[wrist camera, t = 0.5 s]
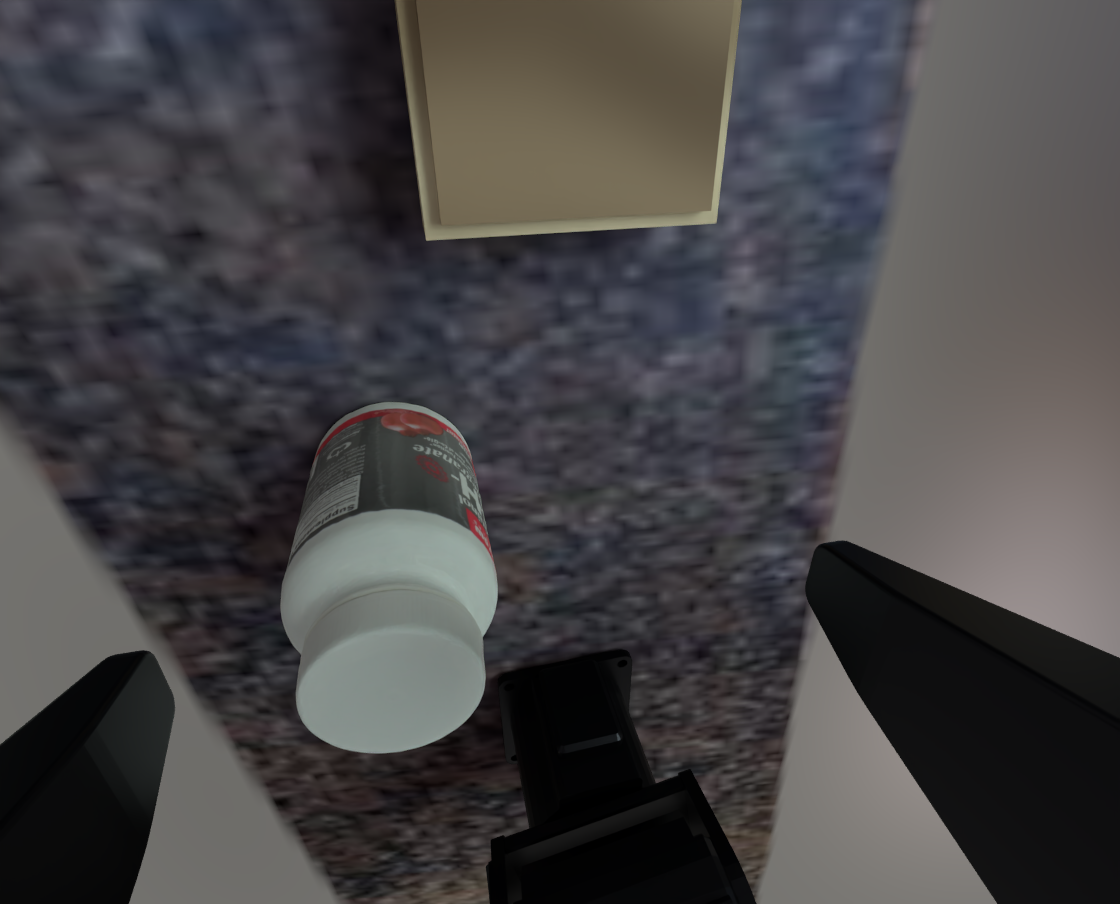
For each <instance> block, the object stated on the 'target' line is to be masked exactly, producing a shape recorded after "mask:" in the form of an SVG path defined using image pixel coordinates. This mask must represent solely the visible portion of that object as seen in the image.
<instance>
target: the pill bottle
mask: <svg viewBox="0 0 1120 904" xmlns="http://www.w3.org/2000/svg"><path fill="white" fill-rule="evenodd" d="M497 594H498V586H497V575H496V569H495V565H494V560H493V556H492V552H491V546H490V542H489V538H488V533H487V528H486V523H485V519H484V514H483V509H482V504H481V497H480V494H479V489H478V485H477V479H476V474H475V471H474V466H473V462H472V458H471V454H470V451H469V448H468V446H467V443H466V441H465V440H464V438H463V436H462V435H461V433H460V432H459V431H458V430H457V428H456V427H455V426H454V425H453V424H452V423H450V422H449V421H448V420H447V419H445V418H444V417H443V416H441V415H439V414H437V413H435V412H433V411H431V410H429V409H427V408H425V407H422V406H418V405H413V404H408V403H399V402H382V403H377V404H371V405H368V406H365V407H363V408H361V409H358V410H356V411H354V412H352V413H349V414H347V415H345V416H344V417H343V418H341V419H340V420H339V421H337V422H336V423H335V424H334V425H333V426H332V427H331V429H330V430H329V431H328V432H327V433H326V435H325V436H324V438H323V439H322V441H321V443H320V445H319V447H318V450H317V452H316V455H315V459H314V462H313V465H312V469H311V471H310V477H309V481H308V484H307V489H306V493H305V498H304V501H303V505H302V509H301V514H300V518H299V522H298V526H297V530H296V533H295V537H294V542H293V545H292V549H291V554H290V557H289V562H288V565H287V569H286V573H285V576H284V579H283V582H282V592H281V604H280V607H281V616H282V622H283V625H284V628H285V631H286V633H287V635H288V637H289V639H290V641H291V643H292V644H293V646H294V647H295V648H296V649H297V650H298V652H299V653H300V654H301V662H300V666H299V672H298V680H297V688H296V705H297V709H298V713H299V715H300V717H301V720H302V722H303V723H304V724H305V725H306V727H307V728H308V729H309V730H310V731H311V732H312V733H313V734H314V735H316V736H317V737H318V738H320V739H322V740H323V741H325V742H327V743H329V744H331V745H333V746H336V747H339V748H342V749H345V750H349V751H356V752H362V753H392V752H401V751H405V750H410V749H414V748H418V747H421V746H424V745H427V744H429V743H432V742H434V741H436V740H439V739H441V738H443V737H444V736H446V735H448V734H449V733H451V732H452V731H454V730H455V729H457V728H458V727H459V726H461V725H462V724H463V723H464V722H465V721H466V720H467V719H468V718H469V717H470V716H471V715H472V713H473V712H474V711H475V709H476V708H477V706H478V705H479V703H480V701H481V698H482V696H483V692H484V688H485V680H486V675H485V665H484V655H483V638H482V637H483V636H484V634H485V633H486V631H487V629H488V627H489V625H490V623H491V621H492V619H493V616H494V613H495V609H496V604H497Z"/></svg>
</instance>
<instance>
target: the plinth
mask: <svg viewBox="0 0 1120 904" xmlns="http://www.w3.org/2000/svg"><path fill="white" fill-rule="evenodd" d="M394 1H395V9H396V17H397V25H398V33H399V41H400V48H401V56H402V64H403V72H404V80H405V88H406V96H407V104H408V111H409V119H410V127H411V135H412V143H413V151H414V159H415V167H416V174H417V182H418V190H419V198H420V206H421V214H422V222H423V227H424V232H425V237H426V241H429V240H445V239H462V238H479V237H496V236H512V235H529V234H546V233H563V232H579V231H596V230H613V229H630V228H646V227H663V226H680V225H697V224H713V223H716V221H717V213H718V204H719V195H720V186H721V178H722V169H723V160H724V152H725V143H726V134H727V125H728V117H729V108H730V99H731V90H732V82H733V73H734V64H735V55H736V47H737V38H738V29H739V21H740V12H741V3H742V0H394Z"/></svg>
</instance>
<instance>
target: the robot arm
mask: <svg viewBox="0 0 1120 904" xmlns="http://www.w3.org/2000/svg"><path fill="white" fill-rule="evenodd" d="M805 591H806V596H807V600H808V602H809V604H810V606H811V608H812V610H813V612H814V614H815V615H816V617H817V619H818V621H819V623H820V625H821V627H822V628H823V630H824V632H825V634H826V636H827V638H828V640H829V641H830V643H831V645H832V647H833V649H834V651H835V652H836V654H837V656H838V658H839V660H840V662H841V664H842V666H843V668H844V669H845V671H846V673H847V675H848V677H849V678H850V680H851V682H852V684H853V686H854V687H855V689H856V691H857V693H858V694H859V696H860V697H861V699H862V700H863V702H864V704H865V705H866V707H867V708H868V710H869V711H870V713H871V714H872V716H873V717H874V719H875V720H876V722H877V723H878V725H879V726H880V728H881V729H882V731H883V732H884V734H885V735H886V737H887V738H888V740H889V741H890V743H891V744H892V746H893V747H894V749H895V750H896V752H897V753H898V755H899V756H900V758H901V759H902V761H903V762H904V764H905V766H906V767H907V769H908V770H909V772H910V773H911V775H912V776H913V777H914V779H915V781H916V782H917V784H918V785H919V787H920V788H921V790H922V791H923V792H924V794H925V795H926V797H927V798H928V800H929V802H930V803H931V805H932V806H933V808H934V809H935V810H936V812H937V814H938V815H939V817H940V818H941V819H942V821H943V823H944V824H945V826H946V827H947V829H948V830H949V832H950V833H951V835H952V836H953V838H954V839H955V840H956V842H957V843H958V845H959V847H960V848H961V850H962V851H963V853H964V854H965V856H966V857H967V859H968V860H969V862H970V863H971V865H972V866H973V868H974V869H975V871H976V872H977V874H978V875H979V877H980V878H981V880H982V881H983V883H984V884H985V886H986V887H987V889H988V890H989V892H990V893H991V895H992V896H993V898H994V899H995V901H996V902H997V904H1120V658H1119V657H1116V656H1114V655H1112V654H1109V653H1107V652H1105V651H1102V650H1100V649H1098V648H1095V647H1093V646H1091V645H1088V644H1086V643H1084V642H1081V641H1079V640H1077V639H1074V638H1072V637H1070V636H1067V635H1065V634H1063V633H1060V632H1058V631H1056V630H1053V629H1051V628H1049V627H1046V626H1044V625H1042V624H1039V623H1037V622H1035V621H1032V620H1030V619H1028V618H1025V617H1023V616H1021V615H1018V614H1016V613H1014V612H1011V611H1009V610H1007V609H1004V608H1002V607H1000V606H997V605H995V604H992V603H990V602H988V601H986V600H983V599H981V598H979V597H976V596H974V595H972V594H969V593H967V592H965V591H962V590H960V589H958V588H955V587H953V586H951V585H948V584H946V583H944V582H941V581H939V580H937V579H934V578H932V577H930V576H927V575H925V574H923V573H920V572H918V571H916V570H913V569H911V568H909V567H906V566H904V565H902V564H899V563H897V562H895V561H892V560H890V559H888V558H886V557H883V556H881V555H878V554H876V553H874V552H871V551H869V550H867V549H865V548H862V547H860V546H858V545H855V544H853V543H851V542H848V541H835V542H828V543H823V544H820V545H818V547H817V548H816V549H815V551H814V554H813V558H812V562H811V566H810V569H809V573H808V577H807V581H806V586H805ZM631 672H632V659H631V656H630V654H629V652H628V651H626V650H618V651H613V652H608V653H603V654H599V655H594V656H589V657H584V658H579V659H574V660H569V661H564V662H560V663H555V664H550V665H545V666H540V667H535V668H530V669H525V670H520V671H516V672H511V673H506V674H504V675H502V676H501V677H500V678H499V679H498V682H497V683H498V692H499V702H500V711H501V721H502V730H503V740H504V749H505V757H506V761H507V762H508V763H509V764H517V763H518V768H519V773H520V779H521V784H522V790H523V795H524V801H525V806H526V812H527V817H528V823H529V828H530V829H527V830H524V831H521V832H518V833H515V834H513V835H510V836H507V837H505V836H504V835H502V836H500V837H497V838H494V839H491V858H492V860H491V861H490V862H489V864H488V865H487V866H486V872H487V881H488V890H489V900H490V904H756V902H755V899H754V896H753V894H752V891H751V889H750V886H749V884H748V881H747V879H746V876H745V874H744V872H743V870H742V868H741V865H740V863H739V861H738V859H737V857H736V855H735V853H734V851H733V849H732V847H731V845H730V843H729V841H728V839H727V838H726V836H725V834H724V832H723V830H722V828H721V826H720V824H719V822H718V820H717V819H716V817H715V815H714V813H713V811H712V809H711V807H710V805H709V803H708V801H707V800H706V798H705V796H704V794H703V792H702V790H701V788H700V786H699V784H698V782H697V781H696V779H695V777H694V775H693V773H692V771H691V769H688V770H685V771H682V772H679V773H678V776H675V777H673V778H670V779H667V780H664V781H661V782H659V783H656V782H655V780H654V777H653V775H652V772H651V769H650V767H649V764H648V761H647V759H646V756H645V754H644V751H643V748H642V746H641V743H640V740H639V738H638V735H637V733H636V730H635V727H634V725H633V722H632V719H631V717H630V714H629V700H630V686H631ZM174 712H175V704H174V697H173V694H172V691H171V689H170V687H169V685H168V683H167V681H166V679H165V676H164V674H163V672H162V670H161V668H160V666H159V664H158V661H157V659H156V658H155V656H154V655H153V654H152V653H151V652H149V651H144V650H143V651H135V652H129V653H123V654H117V655H113V656H110V657H108V658H106V659H105V660H103V661H102V662H100V663H99V664H98V665H97V666H96V667H94V668H93V669H92V670H91V671H89V672H88V673H87V674H86V675H85V676H83V677H82V678H81V679H80V680H79V681H77V682H76V683H75V684H74V685H72V686H71V687H70V688H69V689H67V690H66V691H65V692H64V693H63V694H61V695H60V696H59V697H58V698H56V699H55V700H54V701H53V702H52V703H50V704H49V705H48V706H47V707H46V708H44V709H43V710H42V711H41V712H39V713H38V714H37V715H36V716H35V717H33V718H32V719H31V720H30V721H28V722H27V723H26V724H25V725H24V726H22V727H21V728H20V729H19V730H17V731H16V732H15V733H14V734H13V735H11V736H10V737H9V738H8V739H6V740H5V741H4V742H3V743H2V744H0V904H129V901H130V898H131V895H132V892H133V889H134V886H135V883H136V880H137V876H138V873H139V870H140V867H141V863H142V860H143V857H144V853H145V849H146V846H147V842H148V838H149V834H150V829H151V825H152V821H153V816H154V811H155V806H156V801H157V796H158V791H159V786H160V782H161V777H162V772H163V767H164V762H165V757H166V752H167V748H168V743H169V738H170V733H171V728H172V723H173V718H174Z"/></svg>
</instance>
